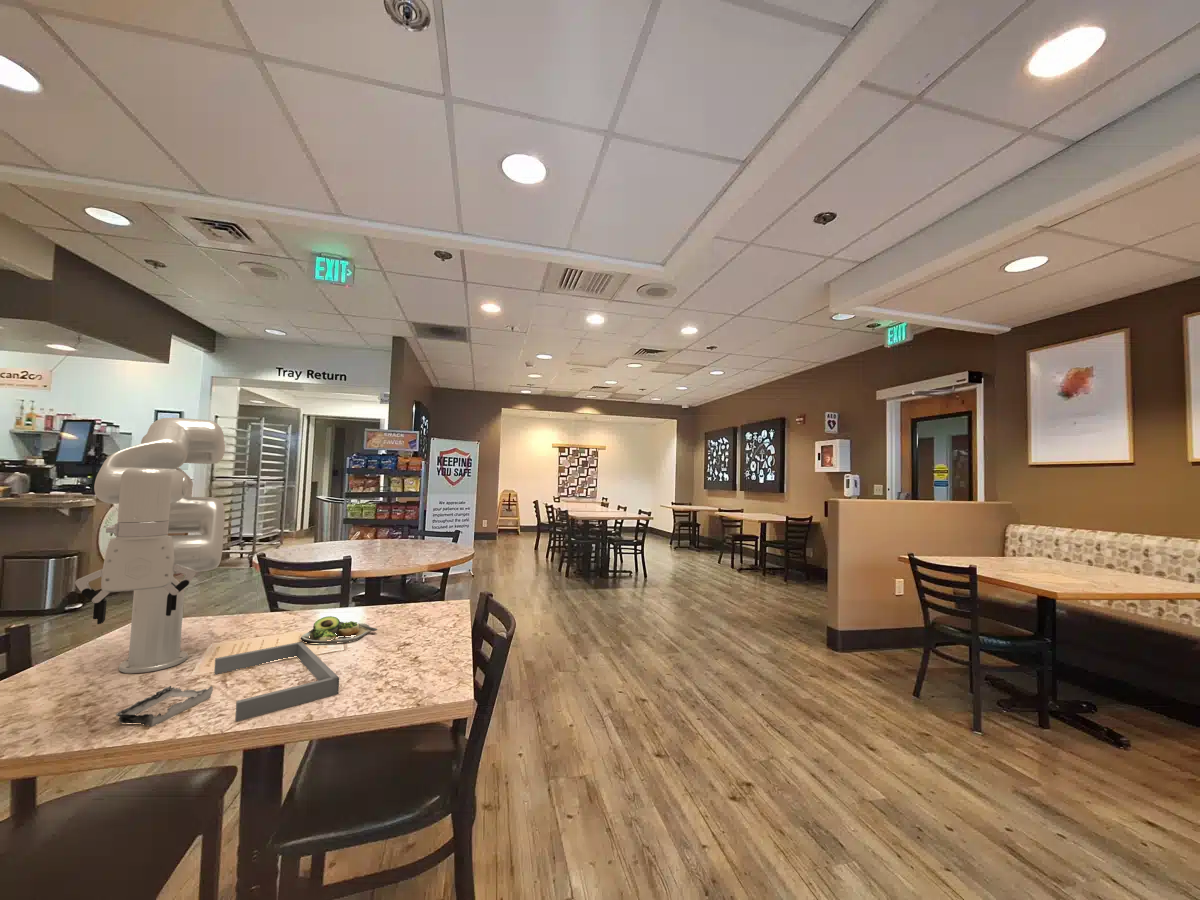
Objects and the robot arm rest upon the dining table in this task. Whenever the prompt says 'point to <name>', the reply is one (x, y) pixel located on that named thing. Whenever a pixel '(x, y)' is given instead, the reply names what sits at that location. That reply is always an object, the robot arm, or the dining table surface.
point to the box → (285, 697)
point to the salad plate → (335, 631)
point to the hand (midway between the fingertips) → (135, 618)
